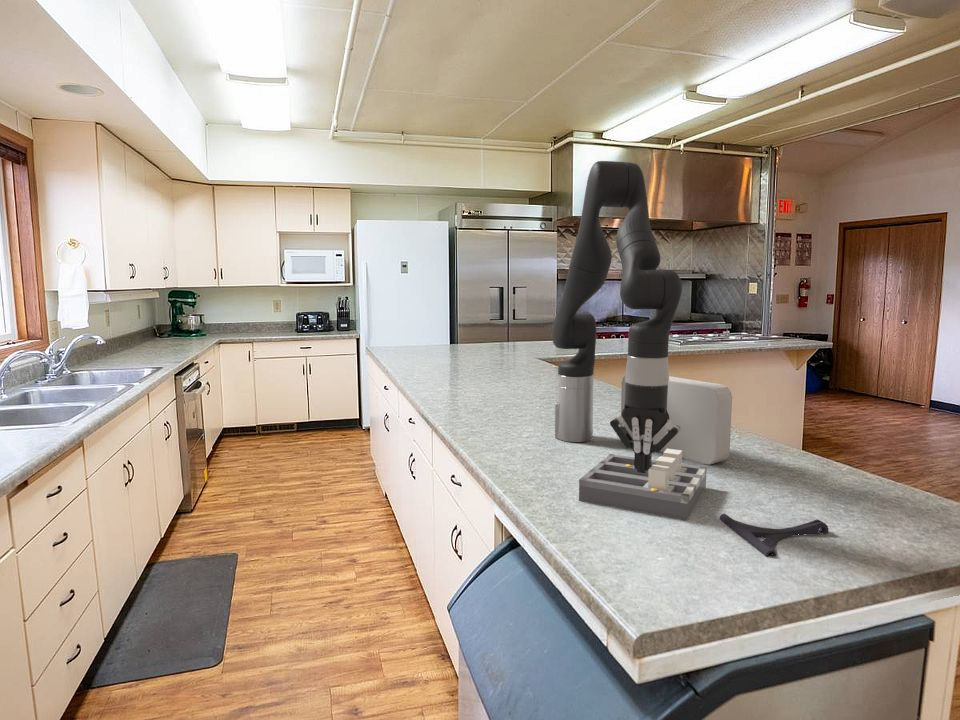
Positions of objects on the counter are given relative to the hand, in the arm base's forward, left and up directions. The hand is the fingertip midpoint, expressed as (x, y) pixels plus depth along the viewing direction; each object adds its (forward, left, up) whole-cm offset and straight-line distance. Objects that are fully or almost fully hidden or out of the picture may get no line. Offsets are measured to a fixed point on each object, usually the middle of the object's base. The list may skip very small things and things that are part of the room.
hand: (642, 471), depth 111 cm
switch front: (+3, 0, -3) cm, 4 cm away
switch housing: (-1, +6, -6) cm, 9 cm away
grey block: (-3, +39, -7) cm, 40 cm away
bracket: (+24, -2, -7) cm, 25 cm away
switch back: (+3, +12, -3) cm, 13 cm away
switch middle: (+3, +6, -3) cm, 7 cm away
